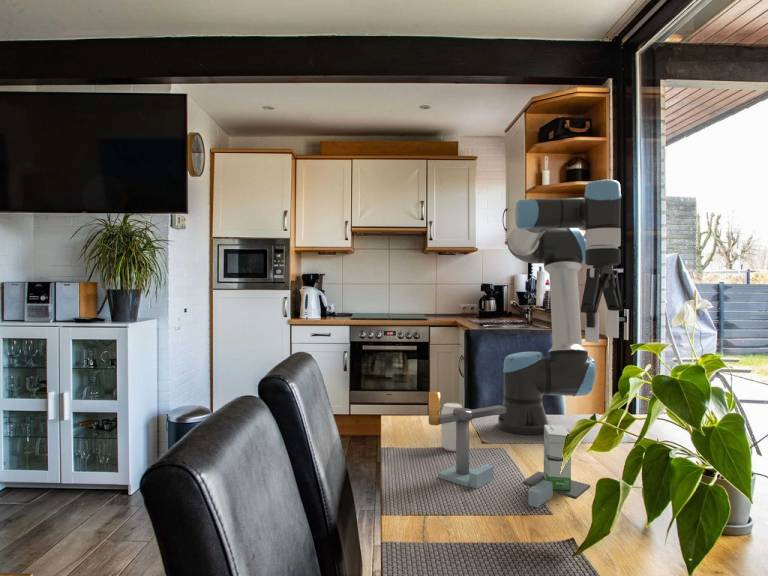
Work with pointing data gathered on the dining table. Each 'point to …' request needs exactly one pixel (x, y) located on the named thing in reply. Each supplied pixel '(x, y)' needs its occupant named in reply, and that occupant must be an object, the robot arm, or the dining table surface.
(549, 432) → the ink box
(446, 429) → the beverage can
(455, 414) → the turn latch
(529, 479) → the pad
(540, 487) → the stand
